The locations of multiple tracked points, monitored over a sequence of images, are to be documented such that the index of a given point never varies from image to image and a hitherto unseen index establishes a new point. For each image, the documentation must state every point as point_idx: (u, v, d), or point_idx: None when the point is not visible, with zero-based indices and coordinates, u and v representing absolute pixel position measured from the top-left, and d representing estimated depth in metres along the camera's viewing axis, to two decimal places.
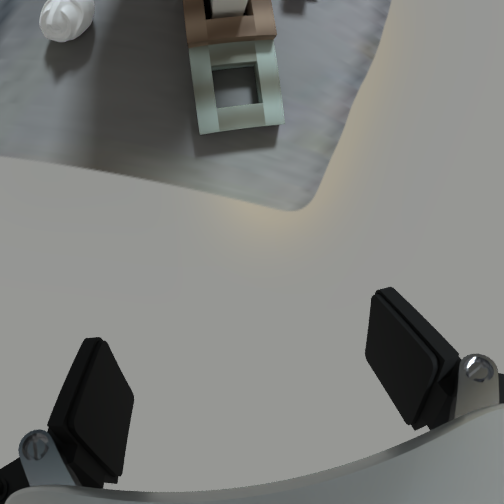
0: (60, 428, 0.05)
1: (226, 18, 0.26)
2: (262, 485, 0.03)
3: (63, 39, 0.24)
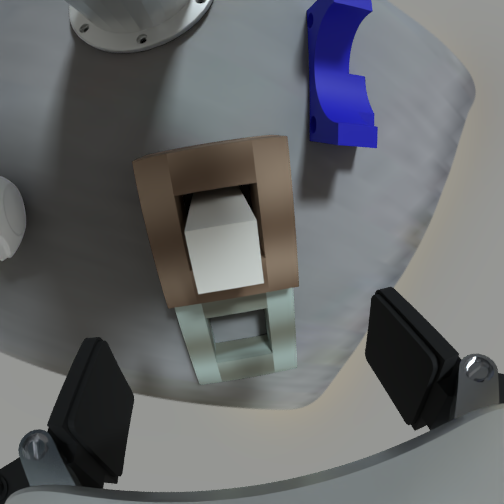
0: (60, 428, 0.05)
1: None
2: (262, 485, 0.03)
3: None
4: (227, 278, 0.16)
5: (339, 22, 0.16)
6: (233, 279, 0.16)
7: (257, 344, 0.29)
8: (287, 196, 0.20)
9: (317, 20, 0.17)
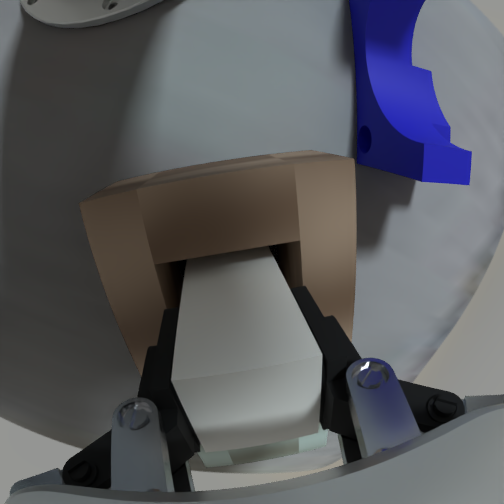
0: (165, 391, 0.06)
1: None
2: (262, 485, 0.03)
3: None
4: (257, 435, 0.08)
5: None
6: (267, 435, 0.08)
7: None
8: (347, 261, 0.12)
9: None
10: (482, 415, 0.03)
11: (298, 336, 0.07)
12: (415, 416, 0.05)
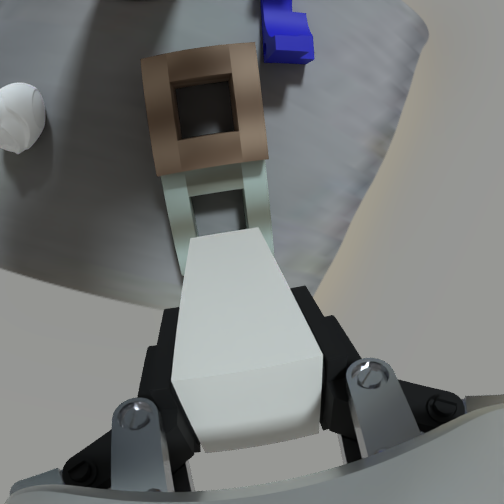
0: (165, 391, 0.06)
1: (203, 138, 0.24)
2: (262, 485, 0.03)
3: None
4: (257, 436, 0.08)
5: None
6: (267, 435, 0.08)
7: None
8: (255, 83, 0.23)
9: None
10: (482, 415, 0.03)
11: (298, 336, 0.07)
12: (415, 416, 0.05)
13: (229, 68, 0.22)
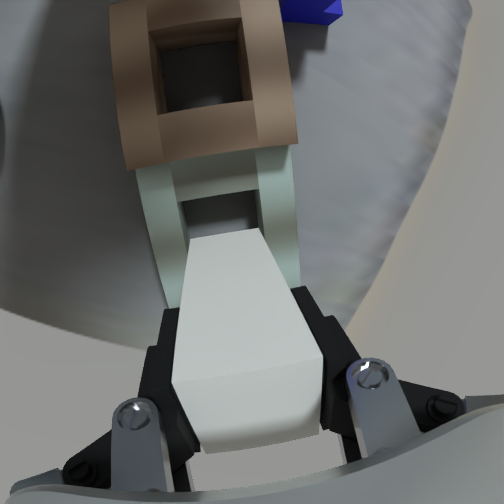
0: (165, 391, 0.06)
1: (198, 110, 0.15)
2: (262, 485, 0.03)
3: None
4: (257, 436, 0.08)
5: None
6: (267, 437, 0.08)
7: None
8: (277, 32, 0.14)
9: None
10: (482, 415, 0.03)
11: (299, 338, 0.07)
12: (415, 416, 0.05)
13: (237, 11, 0.13)
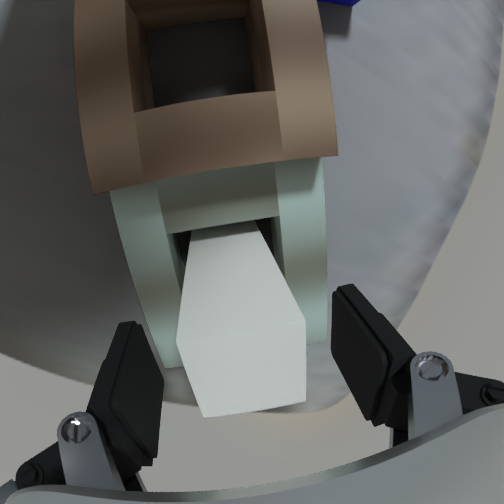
0: (104, 408, 0.06)
1: (194, 104, 0.10)
2: (262, 485, 0.03)
3: None
4: (250, 400, 0.09)
5: None
6: (259, 401, 0.09)
7: None
8: (308, 0, 0.09)
9: None
10: (482, 415, 0.03)
11: (285, 307, 0.09)
12: (472, 404, 0.05)
13: None
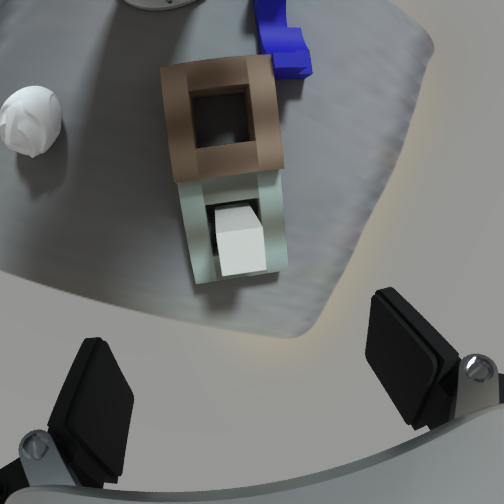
0: (60, 428, 0.05)
1: (221, 146, 0.25)
2: (262, 485, 0.03)
3: (30, 155, 0.24)
4: (242, 265, 0.24)
5: None
6: (246, 266, 0.24)
7: None
8: (272, 94, 0.24)
9: None
10: (482, 415, 0.03)
11: (256, 224, 0.24)
12: None
13: (246, 79, 0.23)
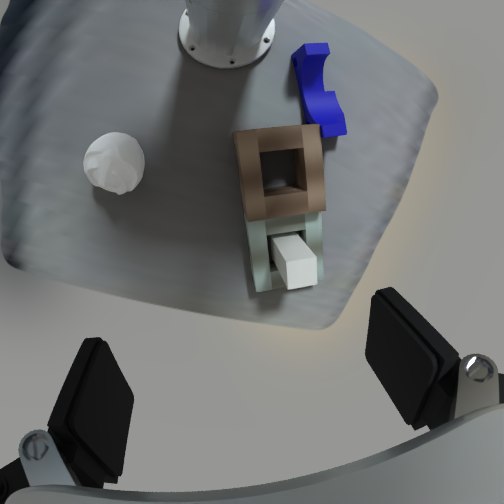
0: (60, 428, 0.05)
1: (283, 195, 0.36)
2: (262, 485, 0.03)
3: None
4: (301, 282, 0.35)
5: (312, 62, 0.31)
6: (304, 282, 0.35)
7: None
8: (319, 156, 0.35)
9: (299, 63, 0.32)
10: (482, 415, 0.03)
11: (311, 254, 0.35)
12: None
13: (301, 144, 0.34)
